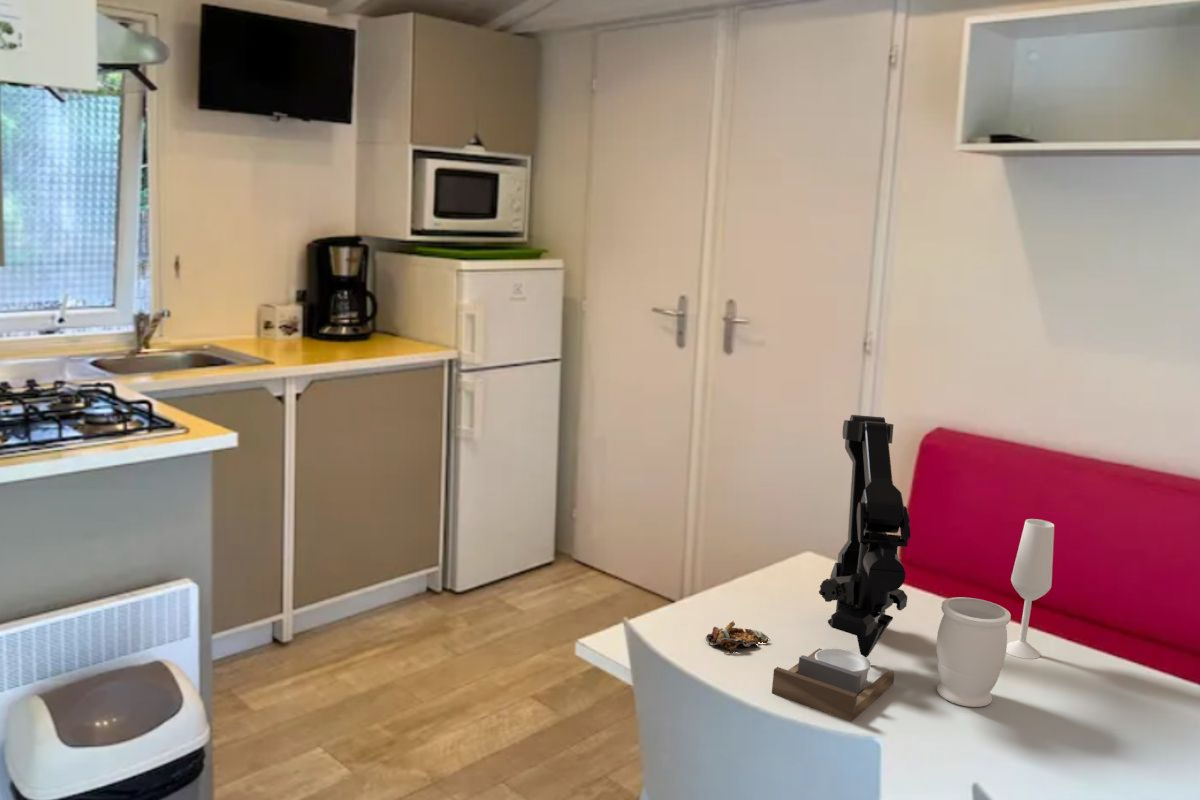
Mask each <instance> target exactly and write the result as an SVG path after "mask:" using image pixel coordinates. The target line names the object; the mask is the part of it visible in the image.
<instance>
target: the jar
mask: <svg viewBox="0 0 1200 800" xmlns="http://www.w3.org/2000/svg"><path fill="white" fill-rule="evenodd" d="M941 612H942V613H943V615H942V618H941V619H940V623H939V627H938V631H937V636H936V659H937V660H936V667H937V673H938V676H939V679H940V683H939V684H938V685H937V688H936V689H937V693H938V694H939V695H940V696H941V698H943V699H944V700H946V701H949V702H950V703H953V704H955V705H959V706H962V707H967V708H968V707H970V708H980V707H986V706H988V705H990V704H991V703H992V701H993V695H992V693H991V691H992V690H993V688H994V687H995V686H996V683H997V682H998V679H999V678H1000V674H1001V671H1002V667H1003V664H1004V662H1005V657H1006V654H1007V653H1006V649H1007V643H1008V630H1007V625H1008V624H1009V623H1010V622H1011V618H1012V617H1011V616H1012V615H1011V613H1010V611H1009V610H1008V609H1006V608H1005V607H1003V606H1002V605H999V604H997V603H995V602H994V603H993V602H991V601H987V600H984V599H981V598H972V597H965V596H964V597H960V596H959V597H949V598H946V599H944V600H943V601H942V602H941Z"/></svg>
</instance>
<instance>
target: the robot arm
mask: <svg viewBox="0 0 1200 800" xmlns="http://www.w3.org/2000/svg"><path fill="white" fill-rule="evenodd" d="M893 434H894V424H892V423H888V422H886V419H885V417H882V416H873V415H872V416H871V415H860V414H851V415H850V417H849V420H848V419H847V420H846V419H844V420H843V424H842V439H843V440H844V449H845V450H846V453H847V455H848V456H849V457H848V458H850V460H851V462H852V470H851V484H850V499H849V500H850V501H849V514H848V517H849V519H848V533H847V535H848V536H847V541H846V543H845V544H844V545H843V546H842V548H841V549H840V551H839V553H838V555H837V562H835V563H834V564H833V568H832V569H831V573H830V576H829V577H830V578H826V579H823V580H822V581H821V584H820V585H819V591H818V594H819V595H820V596H821V598H823V600H824V601H825V602H827V603H828V602H829V603H831V602H832V601H836V607H835V612H834V613H833V614H831V616H830V618H829V619H828V620H827V624H829V625H830V627H831V628H832V629H835V630H838V631H841V632H845V633H848V634H851V635H852V636H853V635H854V636H856V639H857V643H858V648H859V654H861V655H863V656H864V657H866V658H868V657H869V656H870V654H871V653H872V651H873V649H874V648H875V646H876V645H877V644H878V642H879V640H881V637H882V636H883V635H884V632H885V631H886V629H888V626H890V625H889V624H890V623H891V622H892V621H893V620H894V617H893V616H892V615H888V614H886V612H887V611H886V610H887V609H889V608H890V607H891V606H893V604H896V609H897V611H902V610H904V609H905V608H906V607H907V606H908V605H907V604H908V603H907V602H908V595H907V593H906V592H905V591H904V589H903V590H902V589H900V588H901V587H902V586H903V585H904V582H905V580H906V575H907V574H906V569H905V567H904V566H903V563H902V562H901V559H900V558H899V556H898V555H899V554H898V548H899V547H900V548H901V547H902V548H907V547H908V543H909V542H908V541H910V539H911V535H912V534H911V522H910V513H909V512H908V508H907V506H906V505H904V500H903V494H902V492H901V491H900V490H899V489H898V488H897V486H896V485H894V481H893V475H892V474H893V472H892V465H891V454H890V445H889V444H893ZM899 530H900V531H899ZM899 532H900V535H899V534H898V533H899ZM888 533H889V534H888Z"/></svg>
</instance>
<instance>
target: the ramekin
mask: <svg viewBox="0 0 1200 800" xmlns="http://www.w3.org/2000/svg"><path fill="white" fill-rule="evenodd" d="M821 649H822V650H819V651H818V652H816V654H815V659H816V660H819V661H822V662H825V663H828V664H831V665H834V666H837V667H840V668H844V669H847V670H850V671H853V672H856V673H859V674H861V680H860V689H859V693H860V692H861V691H864V690H865V687H866V685H867V683H866V682H867V680H868V674H869V670H870V668H871V662H870V660H869V659H868V657H864V656H863V655H861V654H860V652H856V651H853V650H849V649H845V648H837V647H835V648H834V647H829V648H821Z"/></svg>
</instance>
